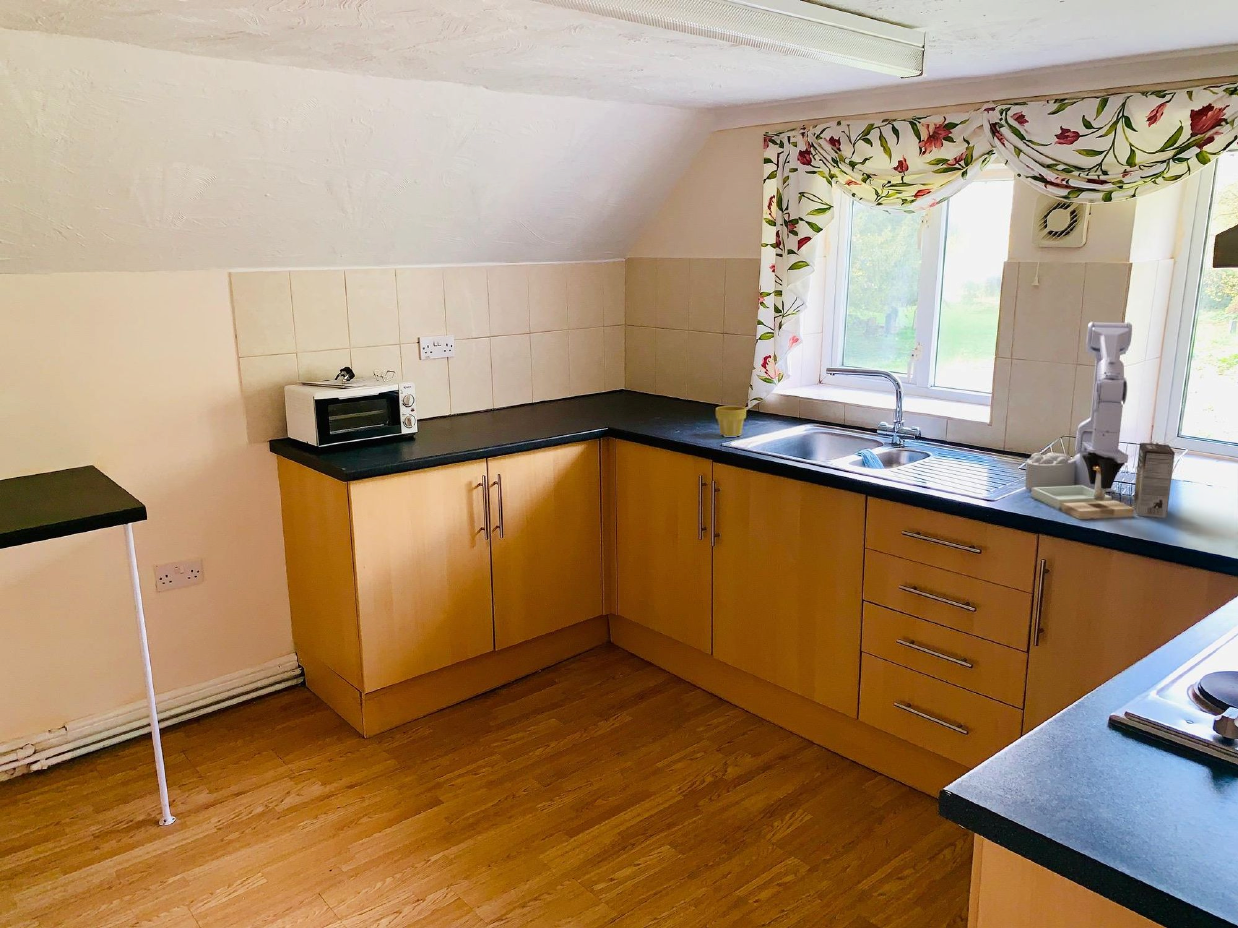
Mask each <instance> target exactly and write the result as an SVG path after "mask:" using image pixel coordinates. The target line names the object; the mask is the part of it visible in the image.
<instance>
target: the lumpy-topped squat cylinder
mask: <svg viewBox="0 0 1238 928" xmlns="http://www.w3.org/2000/svg"><path fill="white" fill-rule="evenodd" d="M1073 458H1074V457H1073ZM1073 458H1071V457H1070V456H1069V455H1067V454H1065V453H1057V452H1052V451H1051V452H1048V453H1046V454H1042V453H1040V452H1034V453H1033V454H1031V456H1030V457H1029V458H1027V460H1026V461H1025V462H1026V463H1025V479H1024V480H1025V483H1024V485H1025V486H1024V487H1025V489H1026V490H1029V491H1031V489H1032V488H1035V487H1056V486H1075V468H1076V460H1075V459H1073Z"/></svg>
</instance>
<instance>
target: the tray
mask: <svg viewBox="0 0 1238 928" xmlns="http://www.w3.org/2000/svg"><path fill="white" fill-rule="evenodd" d="M1030 492H1031V493H1030V498H1032V499H1035V500H1037V501H1038V502H1041V503H1042V504H1045V505H1047V506H1050V507H1051V508H1054V509H1056V510H1062V505H1063V503H1079V502H1099V501H1113V497H1112V496H1111V495H1108V494H1106V493H1105V500H1095V499H1093V498H1094V490H1093V489H1090V488H1088V487H1085V486H1083V485H1076V486H1056V487H1035V488H1032V489H1031V490H1030Z"/></svg>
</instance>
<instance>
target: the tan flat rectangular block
mask: <svg viewBox="0 0 1238 928" xmlns="http://www.w3.org/2000/svg"><path fill="white" fill-rule="evenodd" d="M1061 512H1063V513H1065V514H1067V515H1069V516H1071V517H1074V518H1076V519H1078V520H1087V519H1088V520H1090V518H1094V519H1108V518H1107V517H1113V518H1129V517H1134V516H1135V512H1136V511H1135V508H1134V507H1133V506H1130V505H1128V504H1126V503H1123V502H1121V501H1119V500H1118V501H1117V500H1112V501H1099V502H1079V503H1063V505H1062V509H1061Z"/></svg>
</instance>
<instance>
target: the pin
mask: <svg viewBox="0 0 1238 928" xmlns="http://www.w3.org/2000/svg"><path fill="white" fill-rule="evenodd" d="M1093 469H1094V470H1096V479H1095V489H1094V498H1093V499H1095V500H1105V494H1106V493H1107V492H1106V489H1102V488H1101V470H1100V465H1093Z"/></svg>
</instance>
